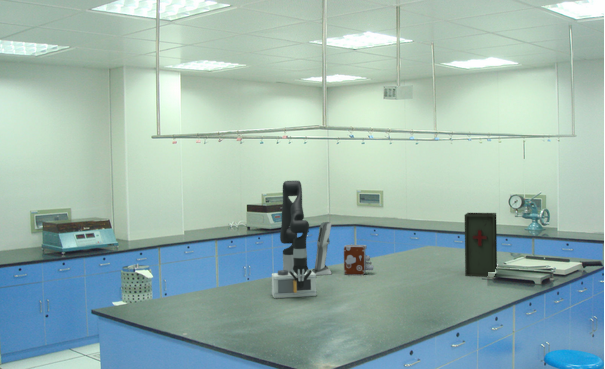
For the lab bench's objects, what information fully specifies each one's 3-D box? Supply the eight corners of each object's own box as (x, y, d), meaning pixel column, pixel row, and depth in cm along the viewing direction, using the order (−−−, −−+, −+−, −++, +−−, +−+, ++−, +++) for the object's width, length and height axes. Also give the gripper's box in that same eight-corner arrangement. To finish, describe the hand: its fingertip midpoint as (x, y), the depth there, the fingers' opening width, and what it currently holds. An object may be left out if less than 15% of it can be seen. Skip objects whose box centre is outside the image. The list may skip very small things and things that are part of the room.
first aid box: (465, 275, 365) (464, 214, 364) (468, 271, 382) (467, 212, 381) (495, 277, 358) (494, 215, 357) (497, 272, 375) (496, 212, 374)
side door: (278, 292, 312) (278, 280, 311) (296, 291, 313) (295, 279, 313) (279, 294, 307) (279, 281, 306) (297, 293, 308) (297, 280, 308)
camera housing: (272, 294, 321) (271, 270, 321) (313, 292, 325) (312, 268, 325) (274, 298, 310) (273, 273, 310) (316, 296, 314) (316, 271, 314)
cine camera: (372, 275, 372) (372, 245, 371) (343, 275, 376) (343, 245, 375) (373, 273, 381) (373, 244, 380) (345, 272, 385) (344, 243, 384)
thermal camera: (333, 274, 378) (332, 223, 378) (314, 275, 376) (313, 223, 376) (329, 271, 390) (328, 221, 389) (311, 272, 388) (310, 222, 387)
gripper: (310, 254, 314) (311, 285, 314) (287, 256, 312) (288, 286, 312) (313, 256, 306) (313, 288, 307) (289, 258, 304) (290, 289, 305)
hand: (300, 287), depth 309 cm, fingers closed
